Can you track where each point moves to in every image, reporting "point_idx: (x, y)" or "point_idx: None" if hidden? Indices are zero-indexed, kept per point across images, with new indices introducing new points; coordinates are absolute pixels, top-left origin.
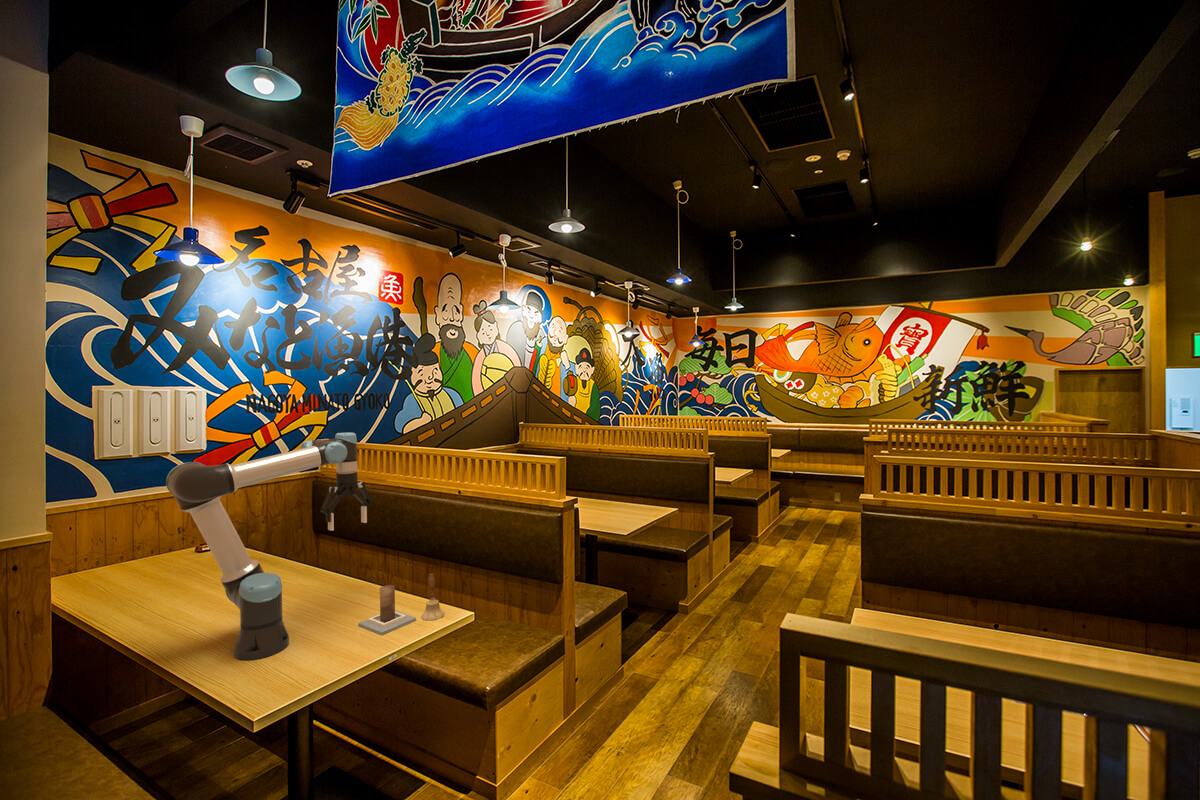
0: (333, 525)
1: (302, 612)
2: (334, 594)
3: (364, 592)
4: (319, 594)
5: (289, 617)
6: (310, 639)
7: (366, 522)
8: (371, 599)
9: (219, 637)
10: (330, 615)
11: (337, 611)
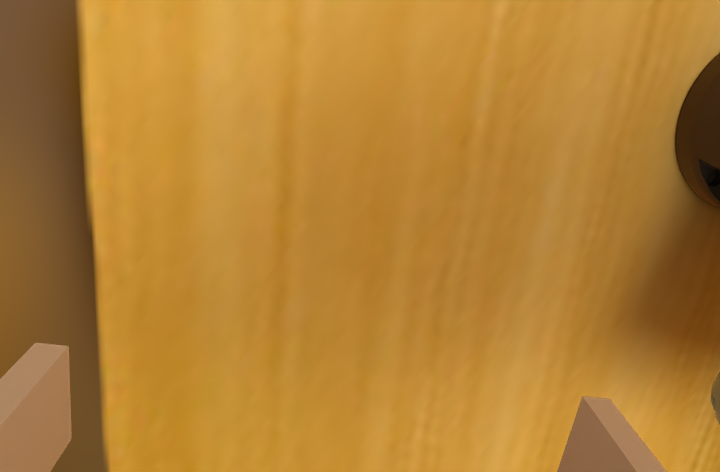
0: (624, 446)
1: (458, 293)
2: (263, 343)
3: (176, 243)
4: (294, 397)
5: (513, 295)
6: (655, 10)
7: (41, 345)
8: (218, 135)
9: (717, 355)
10: (437, 155)
11: (392, 165)
